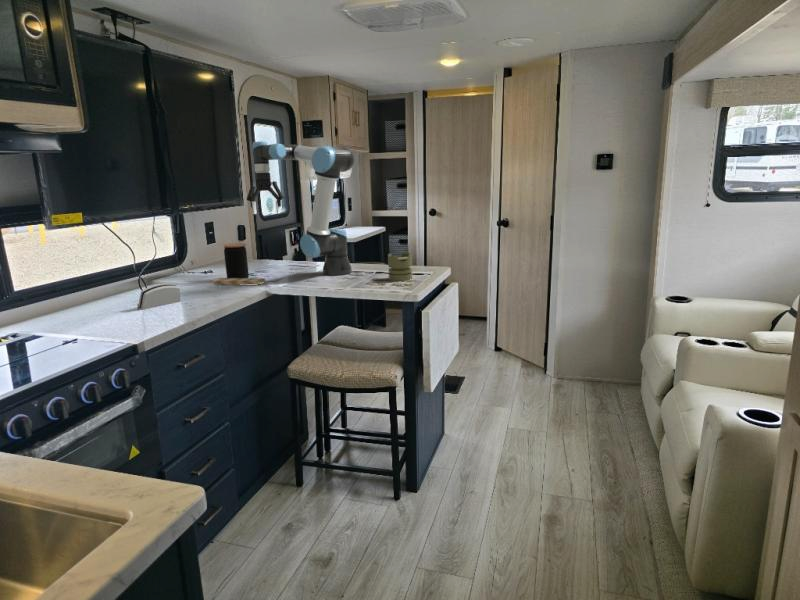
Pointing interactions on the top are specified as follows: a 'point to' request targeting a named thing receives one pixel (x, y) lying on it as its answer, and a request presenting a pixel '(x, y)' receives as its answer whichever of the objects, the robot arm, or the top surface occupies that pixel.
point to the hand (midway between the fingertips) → (266, 213)
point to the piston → (400, 267)
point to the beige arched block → (159, 296)
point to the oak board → (238, 281)
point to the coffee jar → (236, 260)
